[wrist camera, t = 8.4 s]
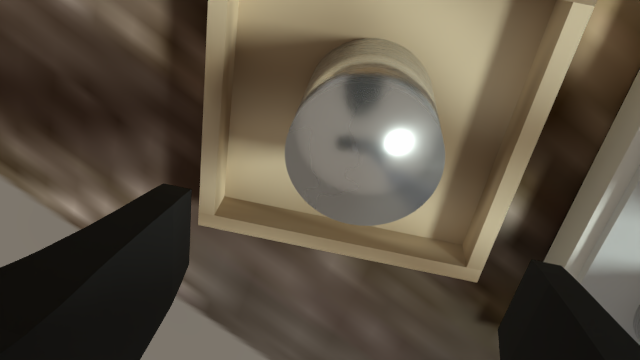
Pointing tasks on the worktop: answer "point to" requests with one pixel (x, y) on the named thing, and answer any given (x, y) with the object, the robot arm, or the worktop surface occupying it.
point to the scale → (608, 220)
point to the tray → (451, 101)
